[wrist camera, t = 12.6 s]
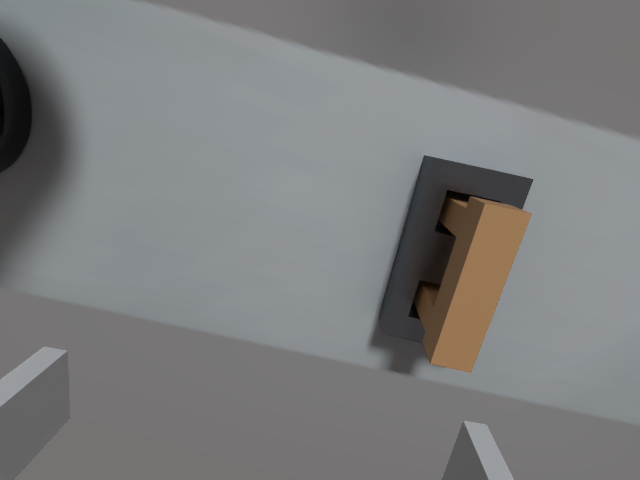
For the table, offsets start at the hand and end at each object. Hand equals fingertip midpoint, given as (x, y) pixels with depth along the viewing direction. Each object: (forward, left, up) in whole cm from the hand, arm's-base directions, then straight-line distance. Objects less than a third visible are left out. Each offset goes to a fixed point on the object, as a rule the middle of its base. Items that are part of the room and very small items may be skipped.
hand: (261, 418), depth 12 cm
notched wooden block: (+7, +9, -24) cm, 26 cm away
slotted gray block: (+7, +9, -24) cm, 26 cm away
